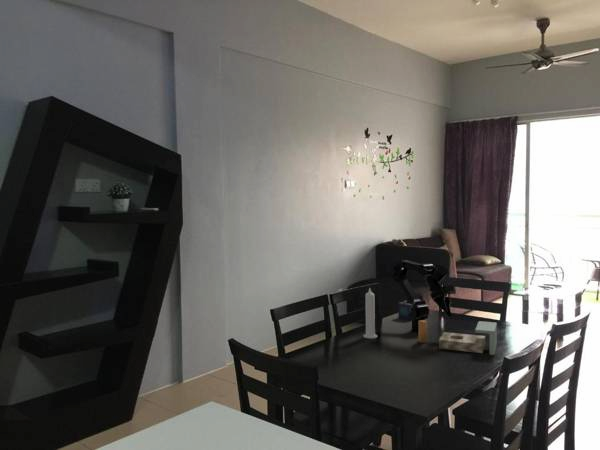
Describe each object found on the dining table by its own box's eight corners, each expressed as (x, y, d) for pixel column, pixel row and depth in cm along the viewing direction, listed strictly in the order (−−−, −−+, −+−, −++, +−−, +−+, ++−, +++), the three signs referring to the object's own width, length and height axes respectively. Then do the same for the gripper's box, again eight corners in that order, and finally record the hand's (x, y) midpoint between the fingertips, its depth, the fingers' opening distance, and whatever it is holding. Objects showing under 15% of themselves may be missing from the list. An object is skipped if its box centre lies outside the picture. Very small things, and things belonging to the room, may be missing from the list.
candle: (377, 339, 248) (376, 289, 246) (362, 338, 249) (362, 288, 248) (377, 335, 254) (377, 286, 253) (363, 334, 256) (363, 286, 254)
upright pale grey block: (475, 353, 223) (475, 329, 222) (478, 343, 237) (478, 321, 237) (494, 355, 220) (494, 331, 219) (496, 344, 234) (496, 322, 233)
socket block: (439, 348, 231) (438, 339, 230) (443, 340, 243) (443, 332, 243) (482, 353, 223) (482, 344, 222) (485, 344, 235) (485, 336, 235)
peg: (417, 342, 241) (417, 321, 240) (419, 340, 244) (419, 319, 244) (426, 343, 239) (426, 322, 238) (427, 340, 243) (427, 320, 242)
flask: (413, 319, 284) (413, 301, 283) (410, 320, 282) (410, 302, 281) (400, 317, 291) (399, 299, 290) (397, 318, 289) (396, 299, 288)
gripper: (445, 273, 238) (460, 301, 230) (453, 284, 253) (467, 311, 245) (424, 283, 241) (438, 312, 233) (433, 293, 256) (447, 321, 248)
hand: (448, 314), depth 240 cm, fingers open, 9 cm apart
